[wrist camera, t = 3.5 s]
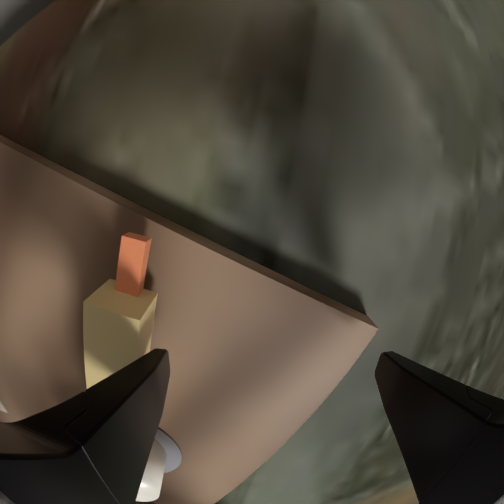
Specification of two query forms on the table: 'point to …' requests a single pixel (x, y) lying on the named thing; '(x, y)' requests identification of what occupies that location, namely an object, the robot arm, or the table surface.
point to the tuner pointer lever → (124, 335)
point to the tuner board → (163, 325)
